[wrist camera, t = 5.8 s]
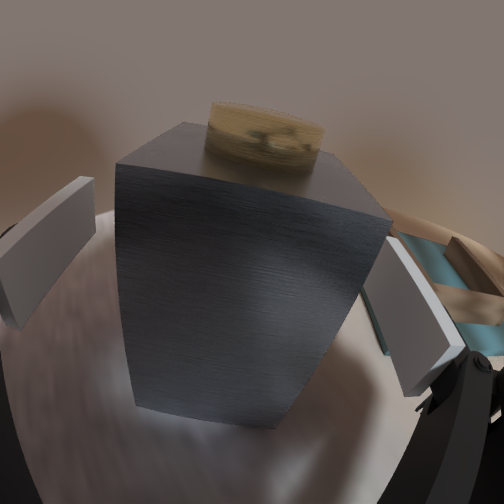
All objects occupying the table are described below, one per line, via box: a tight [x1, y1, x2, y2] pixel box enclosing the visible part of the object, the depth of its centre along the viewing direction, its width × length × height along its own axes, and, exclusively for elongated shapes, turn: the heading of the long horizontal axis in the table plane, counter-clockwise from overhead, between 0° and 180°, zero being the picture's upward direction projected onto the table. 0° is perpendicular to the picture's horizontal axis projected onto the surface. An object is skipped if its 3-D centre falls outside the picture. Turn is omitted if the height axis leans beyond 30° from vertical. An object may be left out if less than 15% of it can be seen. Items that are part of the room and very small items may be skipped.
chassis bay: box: [361, 225, 504, 356], centre depth 24 cm, size 18×18×3 cm
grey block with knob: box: [115, 102, 393, 429], centre depth 11 cm, size 6×6×11 cm
